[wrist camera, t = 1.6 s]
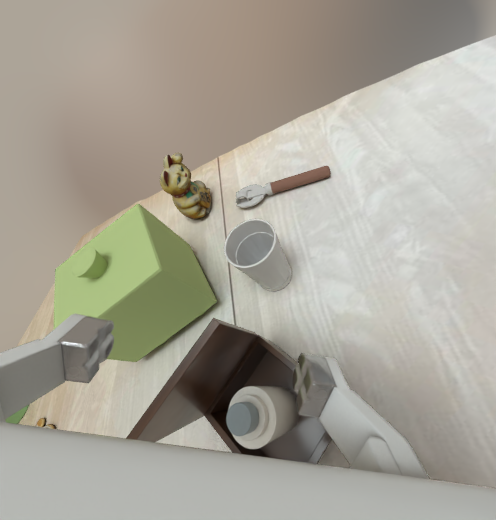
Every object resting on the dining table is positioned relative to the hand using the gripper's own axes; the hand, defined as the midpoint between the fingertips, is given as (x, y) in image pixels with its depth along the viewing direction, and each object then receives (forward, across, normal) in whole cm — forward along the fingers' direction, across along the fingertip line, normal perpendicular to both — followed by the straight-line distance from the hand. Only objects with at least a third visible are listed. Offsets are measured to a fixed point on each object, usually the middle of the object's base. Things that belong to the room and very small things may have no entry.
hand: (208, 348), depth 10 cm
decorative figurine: (+52, +9, +6) cm, 53 cm away
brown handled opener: (+46, -8, -4) cm, 47 cm away
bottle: (+14, -11, +22) cm, 29 cm away
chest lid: (+11, -1, +14) cm, 18 cm away
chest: (+15, -12, +23) cm, 29 cm away
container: (+35, +10, +22) cm, 42 cm away
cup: (+31, -9, +10) cm, 34 cm away
